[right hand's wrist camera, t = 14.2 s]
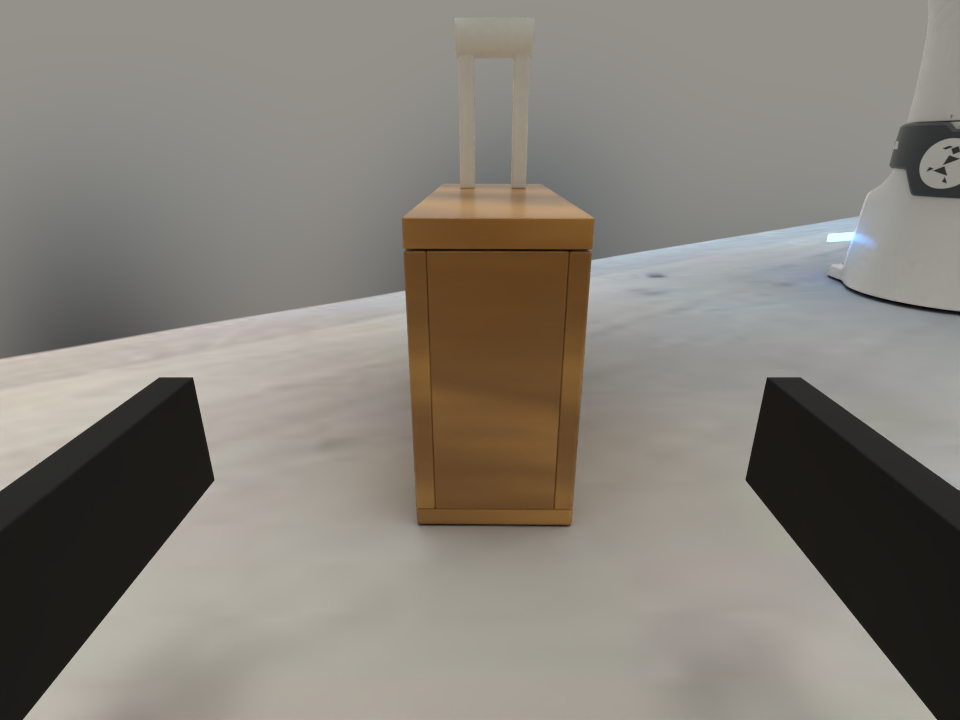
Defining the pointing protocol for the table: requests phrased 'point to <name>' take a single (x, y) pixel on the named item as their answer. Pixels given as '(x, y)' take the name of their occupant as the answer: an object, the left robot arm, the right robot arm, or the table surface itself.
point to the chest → (496, 382)
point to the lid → (517, 206)
